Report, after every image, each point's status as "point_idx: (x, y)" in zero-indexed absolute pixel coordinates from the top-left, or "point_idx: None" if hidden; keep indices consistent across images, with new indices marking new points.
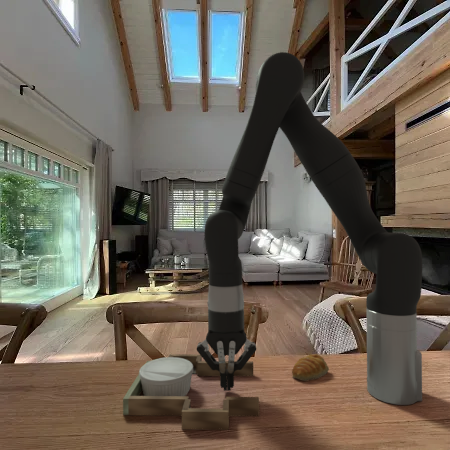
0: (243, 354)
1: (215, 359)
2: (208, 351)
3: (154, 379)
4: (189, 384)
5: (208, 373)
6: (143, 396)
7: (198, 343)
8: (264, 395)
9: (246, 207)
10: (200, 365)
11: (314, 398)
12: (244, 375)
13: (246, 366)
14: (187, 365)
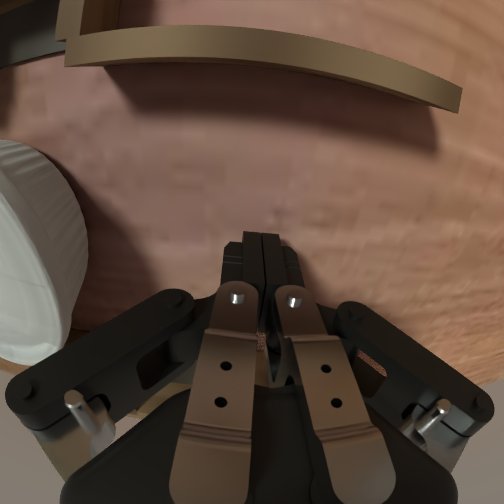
0: (388, 393)
1: (176, 323)
2: (107, 379)
3: None
4: (80, 274)
5: (158, 61)
6: None
7: (12, 408)
8: (397, 270)
9: None
10: (90, 63)
11: (497, 288)
12: (376, 89)
13: (412, 97)
14: (21, 272)
